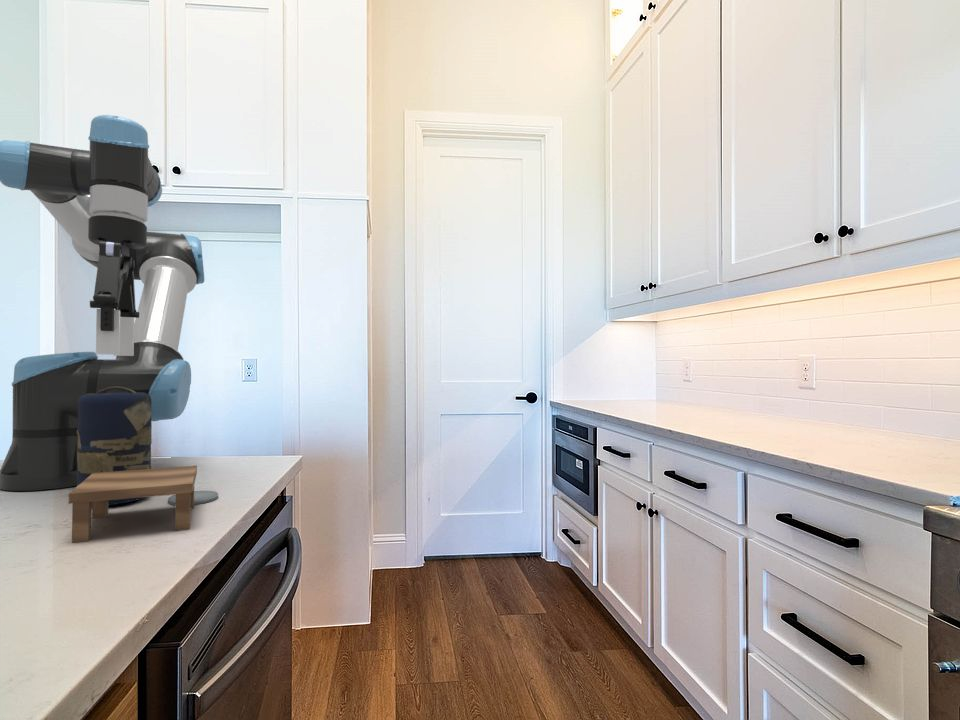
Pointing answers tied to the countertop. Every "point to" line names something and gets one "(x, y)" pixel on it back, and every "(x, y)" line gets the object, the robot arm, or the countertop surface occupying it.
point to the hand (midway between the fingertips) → (116, 355)
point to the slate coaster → (198, 497)
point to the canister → (113, 433)
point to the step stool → (130, 494)
